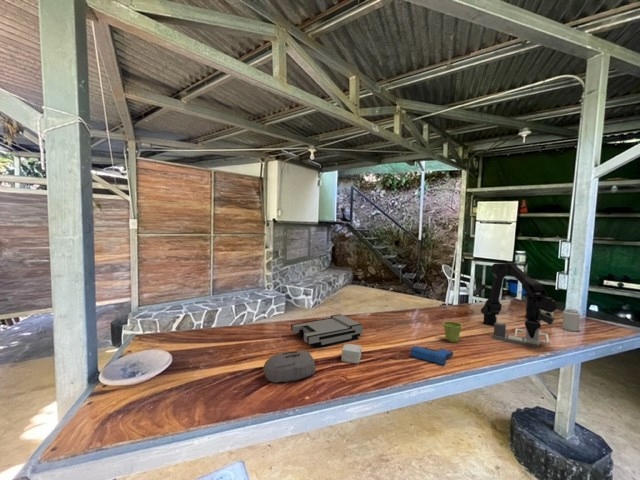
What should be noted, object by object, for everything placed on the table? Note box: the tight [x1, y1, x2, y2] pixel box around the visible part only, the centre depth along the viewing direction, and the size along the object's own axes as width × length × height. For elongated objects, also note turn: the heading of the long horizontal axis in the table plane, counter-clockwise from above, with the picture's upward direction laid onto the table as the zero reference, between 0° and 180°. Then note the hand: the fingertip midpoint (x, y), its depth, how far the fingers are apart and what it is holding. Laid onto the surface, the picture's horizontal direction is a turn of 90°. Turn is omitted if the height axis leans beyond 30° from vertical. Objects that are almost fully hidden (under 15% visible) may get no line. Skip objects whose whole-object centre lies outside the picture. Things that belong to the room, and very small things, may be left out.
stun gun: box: [410, 345, 454, 366], centre depth 128 cm, size 4×16×15 cm
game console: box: [290, 313, 363, 349], centre depth 148 cm, size 21×32×8 cm, turn 120°
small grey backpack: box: [263, 350, 316, 384], centre depth 109 cm, size 15×8×20 cm
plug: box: [525, 327, 540, 342], centre depth 143 cm, size 5×5×6 cm
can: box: [561, 308, 581, 333], centre depth 165 cm, size 8×8×12 cm
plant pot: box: [442, 320, 463, 343], centre depth 147 cm, size 9×9×9 cm
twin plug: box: [493, 321, 507, 337], centre depth 152 cm, size 5×5×6 cm
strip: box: [491, 332, 540, 349], centre depth 148 cm, size 20×9×1 cm, turn 53°
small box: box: [341, 343, 362, 364], centre depth 124 cm, size 8×8×5 cm
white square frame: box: [514, 328, 550, 345], centre depth 154 cm, size 15×15×1 cm
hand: (531, 336), depth 143 cm, fingers closed on plug, 5 cm apart
